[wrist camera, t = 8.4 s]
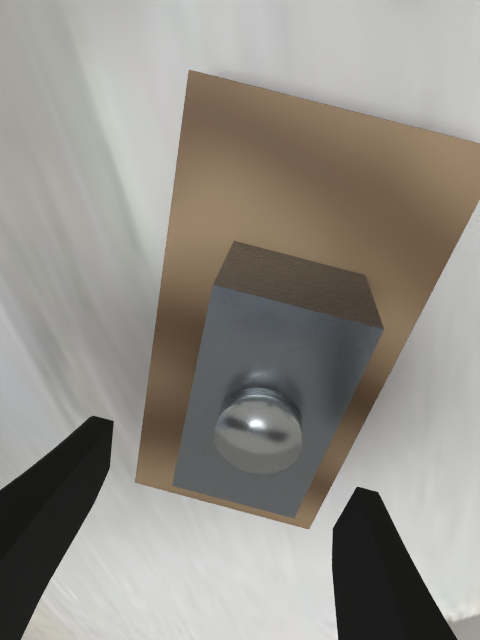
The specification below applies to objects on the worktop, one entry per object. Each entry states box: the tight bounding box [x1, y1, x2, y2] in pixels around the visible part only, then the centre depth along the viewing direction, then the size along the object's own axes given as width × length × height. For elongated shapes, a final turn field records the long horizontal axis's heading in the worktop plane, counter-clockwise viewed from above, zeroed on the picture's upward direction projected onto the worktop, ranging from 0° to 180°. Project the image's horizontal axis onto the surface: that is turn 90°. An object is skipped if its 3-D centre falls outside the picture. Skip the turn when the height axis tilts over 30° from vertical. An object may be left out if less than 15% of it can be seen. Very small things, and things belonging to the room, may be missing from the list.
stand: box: [135, 70, 480, 529], centre depth 19 cm, size 20×10×3 cm, turn 167°
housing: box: [172, 241, 384, 518], centre depth 15 cm, size 9×5×5 cm, turn 167°
